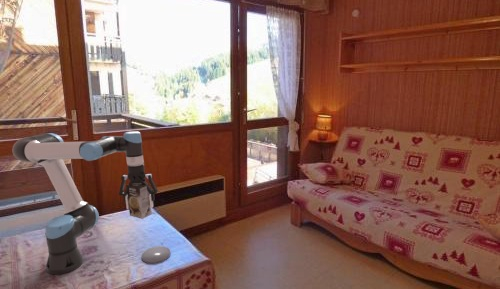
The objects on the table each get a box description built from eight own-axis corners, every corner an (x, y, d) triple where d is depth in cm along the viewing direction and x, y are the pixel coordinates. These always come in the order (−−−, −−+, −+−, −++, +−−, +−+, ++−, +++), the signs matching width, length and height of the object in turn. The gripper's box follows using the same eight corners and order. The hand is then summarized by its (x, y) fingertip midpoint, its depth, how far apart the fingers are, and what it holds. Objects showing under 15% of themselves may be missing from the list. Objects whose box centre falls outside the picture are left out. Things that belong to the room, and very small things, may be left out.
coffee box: (129, 215, 145) (125, 184, 141) (139, 210, 150) (136, 180, 147) (142, 219, 140) (138, 187, 137) (152, 214, 146) (149, 183, 142)
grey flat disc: (138, 264, 144) (138, 262, 144) (145, 248, 157) (145, 246, 157) (167, 262, 145) (167, 261, 145) (172, 247, 159) (172, 245, 158)
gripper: (107, 167, 136) (113, 212, 140) (158, 165, 137) (162, 209, 141) (113, 163, 143) (119, 205, 147) (162, 161, 144) (165, 203, 149)
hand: (140, 207), depth 144 cm, fingers closed on coffee box, 10 cm apart
